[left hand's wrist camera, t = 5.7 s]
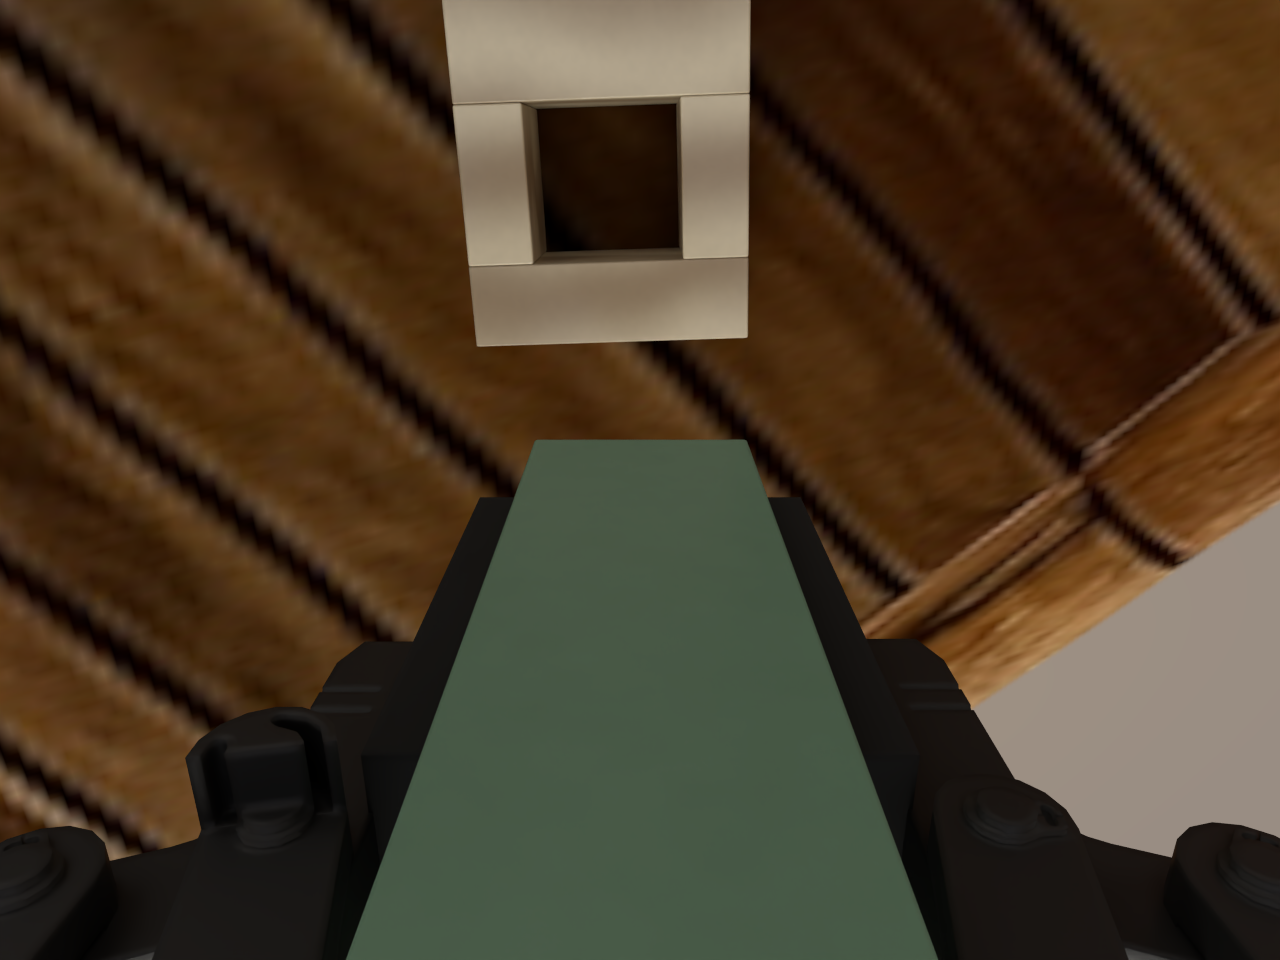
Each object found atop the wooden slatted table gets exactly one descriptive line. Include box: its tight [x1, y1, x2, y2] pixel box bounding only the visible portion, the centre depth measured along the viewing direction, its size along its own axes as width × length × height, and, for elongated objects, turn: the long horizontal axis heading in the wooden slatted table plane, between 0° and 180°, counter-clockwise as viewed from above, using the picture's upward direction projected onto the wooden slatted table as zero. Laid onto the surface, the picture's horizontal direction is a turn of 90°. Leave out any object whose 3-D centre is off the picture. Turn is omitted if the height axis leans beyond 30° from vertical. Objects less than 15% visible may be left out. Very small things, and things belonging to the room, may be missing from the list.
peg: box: [346, 440, 938, 960], centre depth 11 cm, size 4×4×12 cm
